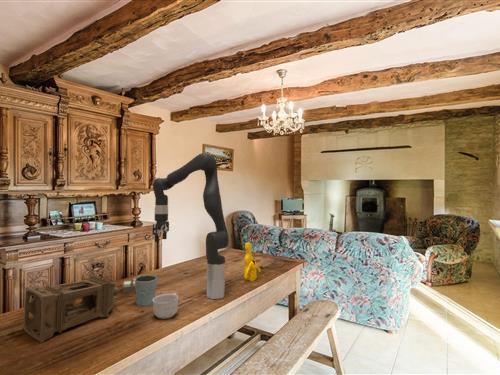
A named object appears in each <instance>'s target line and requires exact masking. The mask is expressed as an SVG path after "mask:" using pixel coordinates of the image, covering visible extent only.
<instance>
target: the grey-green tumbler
mask: <svg viewBox="0 0 500 375" xmlns="http://www.w3.org/2000/svg"><path fill="white" fill-rule="evenodd" d="M134 278H135V288H136V292H135V295H136V296H135V304H136V305H137V306H138V307H149V306H151V305H152V306H153V301H152V300H153V298H155V297H156V292H157V291H156V290H157V282H158V277H157V275H154V274H143V275H139V276H136V277H134Z"/></svg>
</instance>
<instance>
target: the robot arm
mask: <svg viewBox="0 0 500 375" xmlns="http://www.w3.org/2000/svg"><path fill="white" fill-rule="evenodd" d="M197 171H203V172H204V177H205V185H204V188H203V193H202V199H203V206H204V209H205V211H206V212H207V214H208V215H209V217H210V218H211V219H212V221H213V223H214V226H215V231H211V232H210V231H209V232H208V233H207V234H206V237H205V257H206V297H207V298H208V299H211V300H216V299H217V300H218V299H224V297H225V289H226V288H225V283H226V257H225V256H224V255H222V254H219V250H222V249H226V248H227V247H228V246H229V243H230V239H229V238H230V237H229V232H228V229H227V225H226V222H225V217H224V210H223V204H222V198H221V197H222V196H221V192H220V185H219V179H218V178H219V177H218V162H217V160H216V158H215V157H214V155H212V154H208V153H205V152H201V153H199V154H197V155H196V156H194V157H193V158H192V159H191V160H190V161H188V162H187V163H185V164H184V165H183V166H181V167H180V168H178V169H176V170H174V171H172V172H170V173H168V174H167V176H166V177H165V178H163V177H161V178H160V177H159V178H155V179H154V181H153V182H152V183H153V184H152V189H153V193H154V197H155V198H154V199H155V201H154V202H155V204H154V205H155V207H154V222H156V223H153V224H152V235H154V242H155V243H159V241H160V233H161V232H162V240H167V239H168V238H167V234H168V232H169V231H170V221H168V220H169V196H168V195H167V194H165V193H164V191H168V190H170V189H172V188H173V187H174V186H175V185H177V184H180V183H181V182H183V181H185V180H186V179H187V178H188V177H189V176H190V175H191V174H193V173H195V172H197Z"/></svg>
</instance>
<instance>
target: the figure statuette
mask: <svg viewBox="0 0 500 375" xmlns="http://www.w3.org/2000/svg"><path fill="white" fill-rule="evenodd" d="M244 249H245V256H244V260H243V262H244V263H243V264H244V271H243V276H244V277H243V278H244V280H246V281H250V282H254V281H256V280H257V272H258V273H260V272H262V270H261V268H260V267H259V265H258V264H257V261H256V260H255V259H254V257H253V254H252V242H245V244H244Z"/></svg>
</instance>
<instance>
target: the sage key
mask: <svg viewBox="0 0 500 375" xmlns="http://www.w3.org/2000/svg"><path fill="white" fill-rule="evenodd" d="M124 287H131V281H125V282H124Z"/></svg>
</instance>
